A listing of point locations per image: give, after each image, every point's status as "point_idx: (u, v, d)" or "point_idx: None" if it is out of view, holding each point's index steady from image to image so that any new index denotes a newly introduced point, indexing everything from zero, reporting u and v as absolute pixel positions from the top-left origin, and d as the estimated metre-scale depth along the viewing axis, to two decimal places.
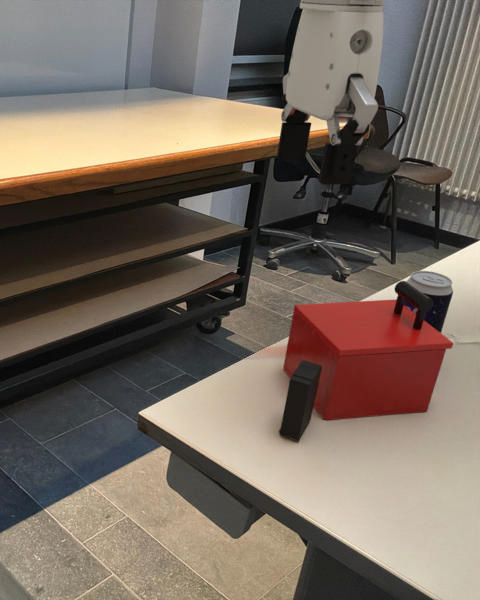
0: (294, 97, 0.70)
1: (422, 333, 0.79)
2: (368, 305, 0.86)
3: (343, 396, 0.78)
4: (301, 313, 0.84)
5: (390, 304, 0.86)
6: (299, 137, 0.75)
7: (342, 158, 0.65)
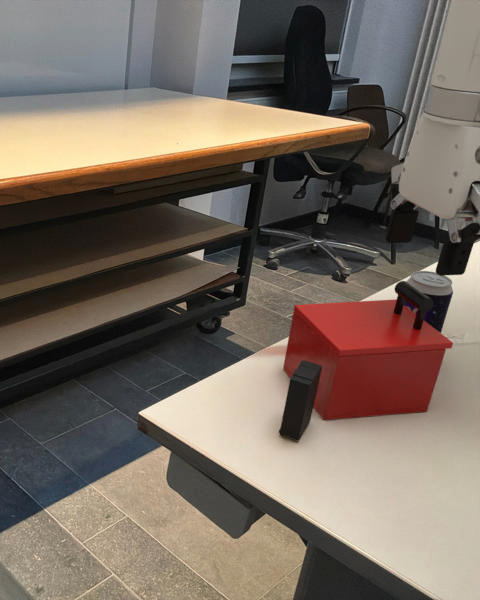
0: (409, 192, 0.77)
1: (422, 333, 0.79)
2: (368, 305, 0.86)
3: (343, 396, 0.78)
4: (301, 313, 0.84)
5: (390, 304, 0.86)
6: (407, 224, 0.81)
7: (460, 253, 0.72)
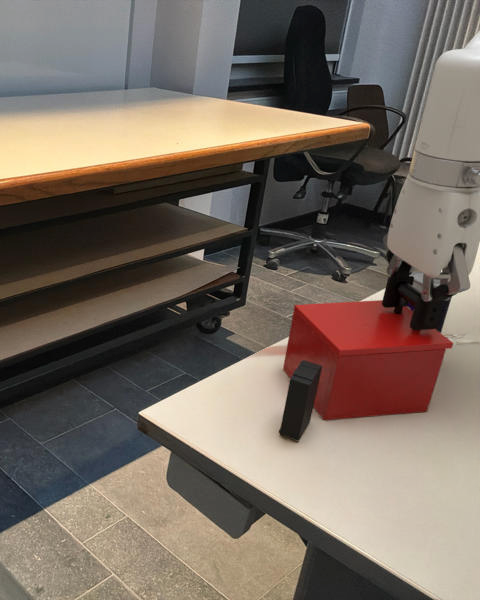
0: (397, 248, 0.80)
1: (422, 333, 0.79)
2: (368, 305, 0.86)
3: (343, 396, 0.78)
4: (301, 313, 0.84)
5: None
6: None
7: (432, 311, 0.77)
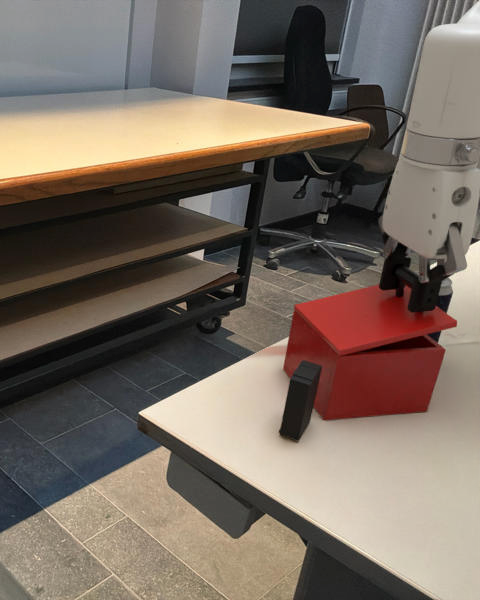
0: (392, 229, 0.79)
1: (425, 315, 0.78)
2: (369, 292, 0.85)
3: (343, 396, 0.78)
4: (300, 313, 0.84)
5: None
6: None
7: (429, 292, 0.76)
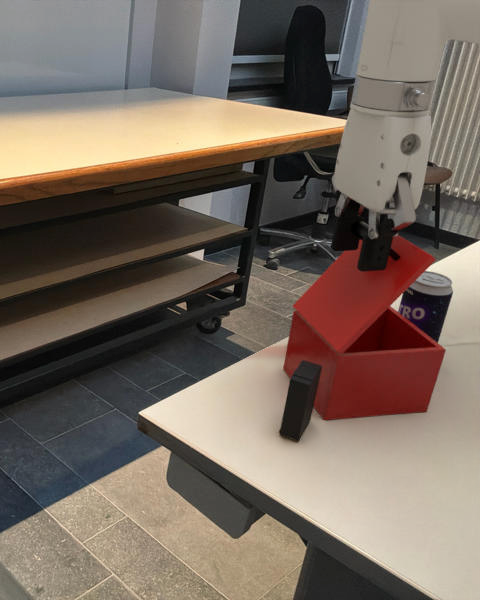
0: (343, 184, 0.75)
1: (402, 262, 0.74)
2: (351, 253, 0.82)
3: (343, 396, 0.78)
4: (300, 313, 0.84)
5: None
6: None
7: (379, 249, 0.72)
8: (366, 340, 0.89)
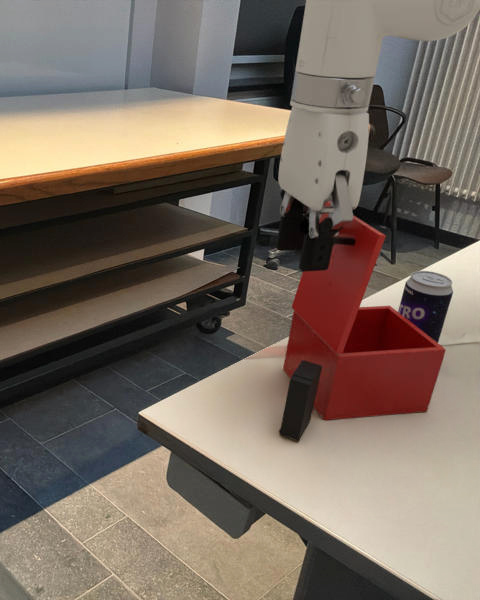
0: (286, 183, 0.74)
1: (359, 246, 0.73)
2: None
3: (343, 396, 0.78)
4: (299, 314, 0.84)
5: None
6: (297, 230, 0.77)
7: (320, 249, 0.71)
8: (366, 340, 0.89)
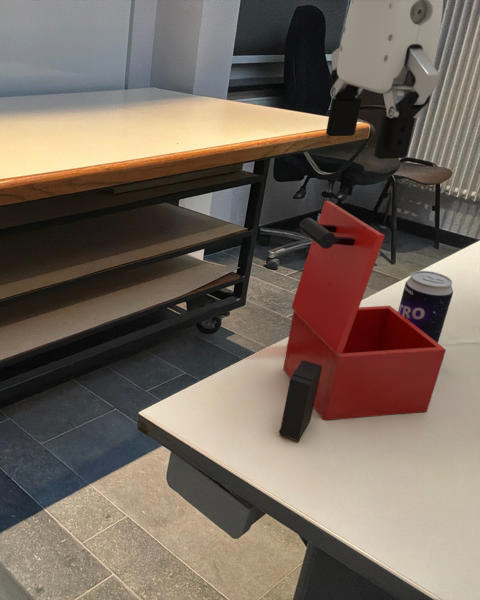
0: (347, 71, 0.69)
1: (358, 246, 0.73)
2: None
3: (343, 396, 0.78)
4: (299, 314, 0.84)
5: (326, 218, 0.79)
6: (349, 113, 0.74)
7: (400, 131, 0.65)
8: (366, 340, 0.89)
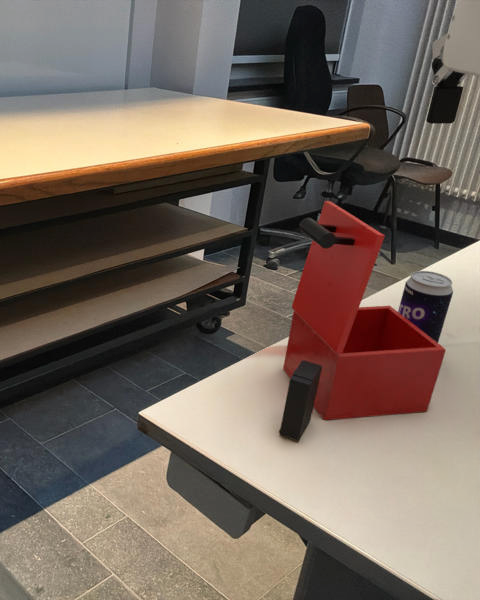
0: (455, 59, 0.71)
1: (358, 246, 0.73)
2: None
3: (343, 396, 0.78)
4: (299, 314, 0.84)
5: (326, 218, 0.79)
6: (451, 101, 0.75)
7: None
8: (366, 340, 0.89)
